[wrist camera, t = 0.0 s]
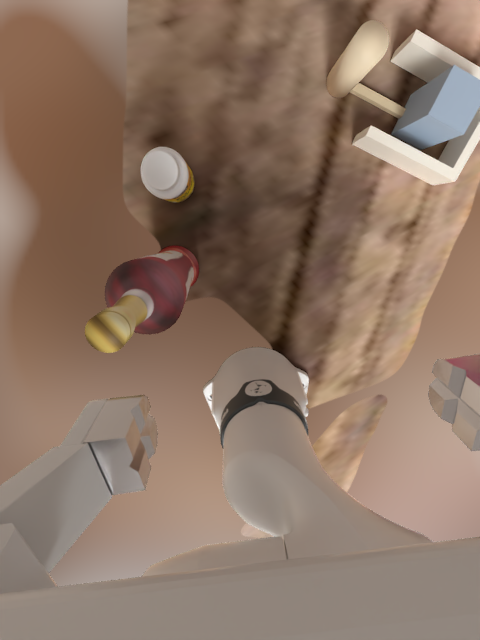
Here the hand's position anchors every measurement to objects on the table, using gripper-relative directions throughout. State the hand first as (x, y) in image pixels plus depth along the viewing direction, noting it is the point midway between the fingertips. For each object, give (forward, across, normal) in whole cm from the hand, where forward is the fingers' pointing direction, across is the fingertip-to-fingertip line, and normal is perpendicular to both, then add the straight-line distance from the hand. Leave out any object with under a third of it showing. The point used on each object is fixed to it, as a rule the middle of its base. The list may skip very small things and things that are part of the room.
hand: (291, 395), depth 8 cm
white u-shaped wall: (+40, +26, +10) cm, 49 cm away
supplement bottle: (+40, -8, +7) cm, 41 cm away
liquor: (+39, -10, -5) cm, 40 cm away
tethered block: (+40, +21, +13) cm, 47 cm away
